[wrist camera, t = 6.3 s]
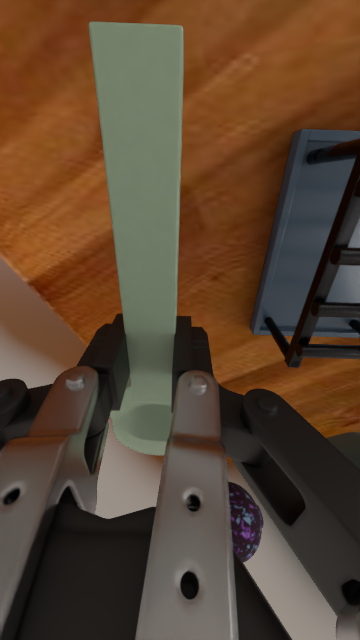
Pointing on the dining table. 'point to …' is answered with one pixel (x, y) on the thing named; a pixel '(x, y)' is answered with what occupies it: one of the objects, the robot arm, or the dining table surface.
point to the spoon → (143, 209)
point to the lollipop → (244, 522)
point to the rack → (314, 250)
